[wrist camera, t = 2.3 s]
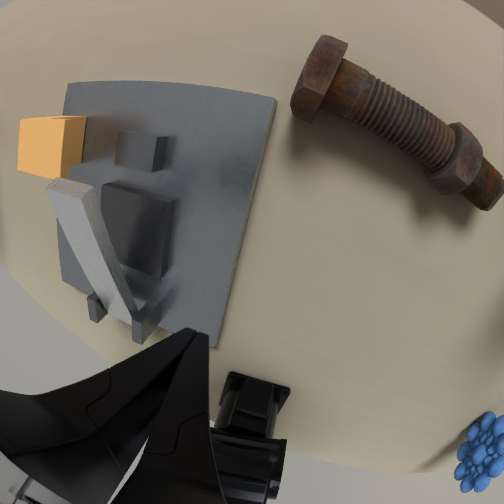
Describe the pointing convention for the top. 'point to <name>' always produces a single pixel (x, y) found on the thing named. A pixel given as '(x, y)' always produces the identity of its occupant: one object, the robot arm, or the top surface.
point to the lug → (50, 145)
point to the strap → (92, 245)
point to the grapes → (481, 454)
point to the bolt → (396, 123)
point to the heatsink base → (169, 193)
